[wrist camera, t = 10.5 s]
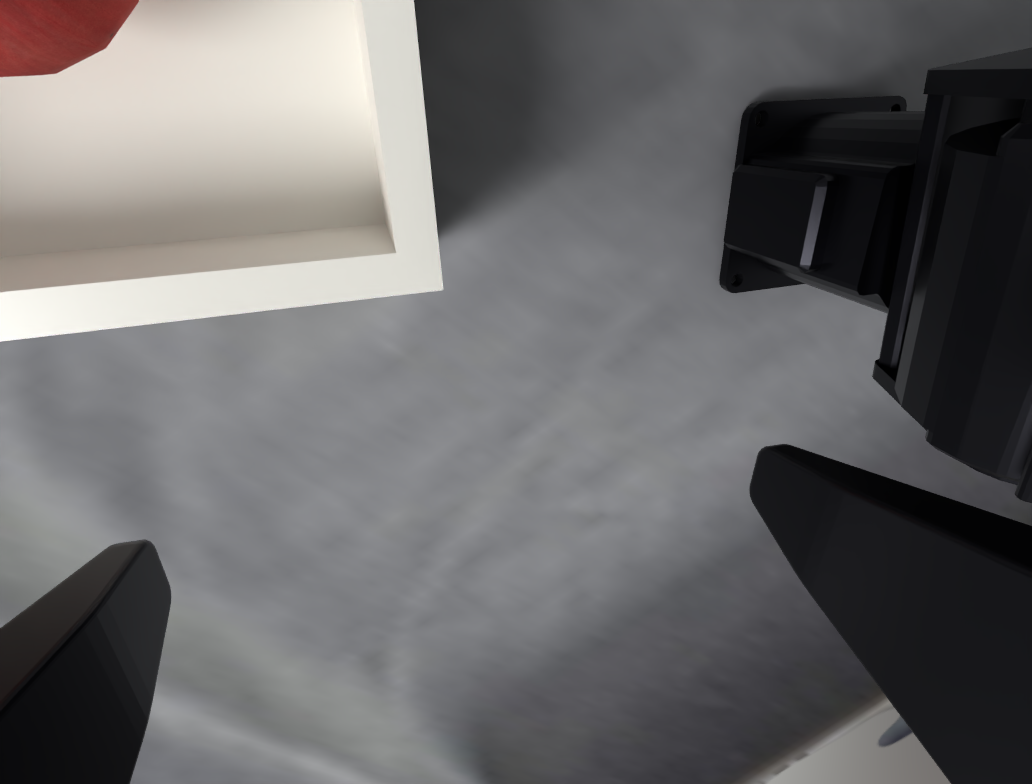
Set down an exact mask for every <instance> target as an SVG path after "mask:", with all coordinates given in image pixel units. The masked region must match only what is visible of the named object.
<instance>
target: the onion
mask: <svg viewBox="0 0 1032 784" xmlns="http://www.w3.org/2000/svg"><path fill="white" fill-rule="evenodd" d="M138 2H139V0H0V77H15V76H36V75H48V74H57V73H59V72H61V71H63V70H65V69H67V68H68V67H70V66H72V65H74V64H76V63H78V62H80V61H82V60H84V59H86V58H88V57H90V56H92V55H94V54H96V53H98V52H100V51H102V50H104V49H106V48H107V46H108V45H109V44H110V42H111V41H112V39H113V38H114V36H115V35H116V34H117V32H118V31H119V29H120V28H121V27H122V25H123V24H124V22H125V21H126V19H127V18H128V17H129V15H130V14H131V12H132V11H133V10H134V8H135V7H136V5H137V4H138Z"/></svg>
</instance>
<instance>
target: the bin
mask: <svg viewBox="0 0 1032 784" xmlns="http://www.w3.org/2000/svg"><path fill="white" fill-rule="evenodd" d="M439 290H443V282H442V272H441V262H440V253H439V243H438V233H437V223H436V213H435V204H434V194H433V184H432V174H431V165H430V155H429V145H428V135H427V125H426V116H425V106H424V96H423V86H422V76H421V67H420V57H419V47H418V37H417V27H416V18H415V8H414V0H139V2H138V4H137V5H136V7H135V8H134V10H133V11H132V12H131V14H130V15H129V17H128V18H127V19H126V21H125V22H124V24H123V25H122V27H121V28H120V29H119V31H118V32H117V34H116V35H115V36H114V38H113V39H112V41H111V42H110V44H109V45H108V46H107V48H106V49H104V50H102V51H100V52H98V53H96V54H94V55H92V56H90V57H88V58H86V59H84V60H82V61H80V62H78V63H76V64H74V65H72V66H70V67H68V68H67V69H65V70H63V71H61V72H59V73H57V74H48V75H36V76H15V77H0V341H9V340H17V339H26V338H34V337H43V336H52V335H60V334H69V333H78V332H86V331H95V330H103V329H112V328H121V327H129V326H138V325H147V324H155V323H164V322H172V321H181V320H190V319H198V318H207V317H215V316H224V315H233V314H241V313H250V312H259V311H267V310H276V309H284V308H293V307H302V306H310V305H319V304H327V303H336V302H345V301H353V300H362V299H371V298H379V297H388V296H396V295H405V294H414V293H422V292H431V291H439Z"/></svg>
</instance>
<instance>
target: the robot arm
mask: <svg viewBox="0 0 1032 784" xmlns="http://www.w3.org/2000/svg"><path fill="white" fill-rule="evenodd" d="M924 94H928V98H927V103H926V109H925V111H906V106H907V105H906V100H905V99H904V98H903V97H901V96H886V97H863V98H841V99H818V100H796V101H773V102H756V103H752V104H751V105H749V106H748V107H747V108H746V110H745V111H744V113H743V116H742V119H741V126H740V133H739V140H738V148H737V155H736V162H735V169H734V172H733V177H732V185H731V192H730V199H729V207H728V214H727V221H726V229H725V236H724V250H723V257H722V264H721V272H720V279H719V280H720V285H721V287H722V288H723V289H724V290H726V291H729V292H731V293H739V292H747V291H754V290H762V289H769V288H777V287H784V286H792V285H799V284H808V285H811V286H813V287H816V288H819V289H822V290H824V291H827V292H830V293H833V294H835V295H838V296H841V297H844V298H846V299H849V300H852V301H855V302H857V303H860V304H863V305H866V306H868V307H871V308H874V309H877V310H879V311H882V312H885V313H888V314H887V320H886V325H885V331H884V336H883V341H882V347H881V352H880V358H879V359H878V360H876V361H875V365H874V370H873V376H872V377H873V378H874V379H875V380H876V381H877V382H878V383H879V384H880V385H881V386H882V387H883V388H884V389H885V390H886V391H887V392H888V393H889V394H890V395H891V396H892V397H893V398H894V399H895V400H896V401H897V402H898V403H899V404H900V405H901V407H902V408H903V409H904V410H906V411H907V412H908V413H909V414H910V415H911V416H912V417H913V418H914V419H915V420H916V421H917V422H918V423H919V424H920V425H921V426H922V427H923V428H924V429H925V430H926V431H927V432H926V436H925V438H926V441H927V442H929V443H930V444H931V445H932V446H933V447H934V448H936V449H937V450H939V451H941V452H943V453H945V454H947V455H948V456H950V457H952V458H954V459H956V460H958V461H960V462H962V463H964V464H966V465H968V466H969V467H971V468H973V469H974V470H976V471H979V472H981V473H983V474H986V475H988V476H991V477H993V478H996V479H998V480H1001V481H1005V482H1008V483H1012V484H1015V485H1018V486H1017V488H1016V491H1015V495H1016V496H1017V497H1018V498H1019V499H1021V500H1023V501H1025V502H1030V503H1032V48H1028V49H1023V50H1018V51H1014V52H1009V53H1004V54H999V55H994V56H990V57H985V58H980V59H975V60H971V61H966V62H961V63H956V64H951V65H947V66H942V67H937V68H932V69H928V72H927V78H926V83H925V89H924ZM890 108H891V112H889V111H890ZM758 113H760V115H761V119H760V122H759V124H758V125H756V124H755V118H756V115H757V114H758ZM734 275H737V277H736V280H735V281H734V282H733V283H731V280H732V278H733V277H734ZM750 497H751V500H752V502H753V504H754V506H755V507H756V509H757V511H758V512H759V514H760V516H761V517H762V519H763V520H764V522H765V524H766V525H767V527H768V529H769V530H770V532H771V534H772V535H773V537H774V539H775V540H776V542H777V543H778V545H779V547H780V548H781V550H782V552H783V553H784V555H785V557H786V558H787V560H788V562H789V563H790V565H791V566H792V568H793V570H794V571H795V573H796V574H797V576H798V577H799V579H800V580H801V582H802V583H803V585H804V586H805V588H806V589H807V590H808V592H809V593H810V595H811V596H812V597H813V599H814V600H815V601H816V603H817V604H818V605H819V607H820V608H821V609H822V611H823V612H824V613H825V615H826V616H827V617H828V619H829V620H830V621H831V623H832V624H833V625H834V627H835V628H836V629H837V631H838V632H839V634H840V635H841V636H842V638H843V639H844V640H845V642H846V643H847V644H848V646H849V647H850V648H851V650H852V651H853V652H854V654H855V655H856V656H857V658H858V659H859V660H860V662H861V663H862V664H863V666H864V667H865V669H866V670H867V671H868V673H869V674H870V675H871V677H872V678H873V679H874V681H875V682H876V683H877V685H878V686H879V687H880V689H881V690H882V691H883V693H884V694H885V695H886V697H887V698H888V699H889V701H890V702H891V704H892V705H893V706H894V708H895V709H896V710H897V712H898V713H899V714H900V716H901V717H902V718H903V720H904V721H905V722H906V724H907V725H908V726H909V728H910V729H911V730H912V732H913V733H914V734H915V736H916V737H917V738H918V740H919V741H920V742H921V744H922V745H923V747H924V748H925V749H926V750H927V752H928V753H929V755H930V756H931V757H932V759H933V760H934V761H935V763H936V764H937V765H938V767H939V768H940V769H941V770H942V772H943V773H944V775H945V776H946V778H947V779H948V780H949V781H950V783H951V784H1032V526H1030V525H1027V524H1024V523H1021V522H1018V521H1015V520H1012V519H1009V518H1006V517H1003V516H1000V515H997V514H994V513H991V512H988V511H985V510H982V509H979V508H976V507H973V506H970V505H967V504H964V503H961V502H958V501H955V500H952V499H949V498H946V497H943V496H940V495H937V494H934V493H931V492H928V491H925V490H922V489H919V488H916V487H913V486H910V485H908V484H905V483H902V482H899V481H896V480H893V479H890V478H887V477H884V476H881V475H878V474H875V473H872V472H869V471H866V470H863V469H860V468H857V467H854V466H851V465H848V464H845V463H842V462H839V461H836V460H833V459H830V458H827V457H824V456H821V455H818V454H815V453H812V452H809V451H806V450H803V449H800V448H797V447H794V446H791V445H788V444H780V445H773V446H766V447H764V448H762V449H761V450H760V451H759V453H758V455H757V459H756V463H755V467H754V471H753V475H752V479H751V483H750ZM170 605H171V589H170V585H169V582H168V579H167V577H166V574H165V572H164V569H163V566H162V564H161V561H160V558H159V556H158V553H157V551H156V548H155V546H154V545H153V544H152V543H151V542H150V541H148V540H138V541H131V542H124V543H118V544H114V545H111V546H109V547H108V548H106V549H105V550H104V551H102V552H101V553H100V554H98V555H97V556H96V557H94V558H93V559H92V560H90V561H89V562H88V563H86V564H85V565H84V566H82V567H81V568H80V569H78V570H77V571H76V572H74V573H73V574H72V575H70V576H69V577H68V578H66V579H65V580H64V581H62V582H61V583H60V584H58V585H57V586H56V587H54V588H53V589H52V590H50V591H49V592H48V593H46V594H45V595H44V596H43V597H41V598H40V599H39V600H37V601H36V602H35V603H33V604H32V605H31V606H29V607H28V608H27V609H25V610H24V611H23V612H21V613H20V614H19V615H17V616H16V617H15V618H13V619H12V620H11V621H9V622H8V623H7V624H5V625H4V626H3V627H1V628H0V784H130V781H131V777H132V774H133V771H134V768H135V765H136V761H137V758H138V755H139V752H140V748H141V745H142V742H143V738H144V734H145V731H146V727H147V724H148V720H149V715H150V711H151V706H152V701H153V696H154V691H155V685H156V680H157V675H158V669H159V664H160V659H161V653H162V648H163V643H164V637H165V632H166V627H167V621H168V616H169V611H170Z"/></svg>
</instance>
